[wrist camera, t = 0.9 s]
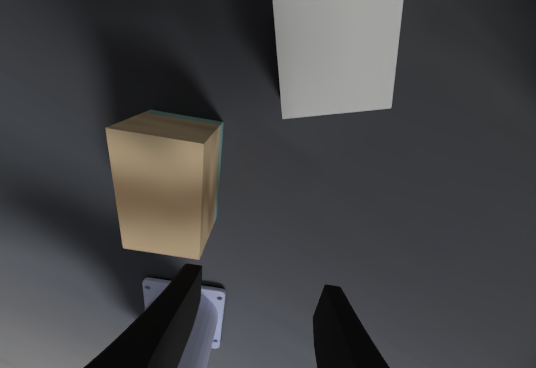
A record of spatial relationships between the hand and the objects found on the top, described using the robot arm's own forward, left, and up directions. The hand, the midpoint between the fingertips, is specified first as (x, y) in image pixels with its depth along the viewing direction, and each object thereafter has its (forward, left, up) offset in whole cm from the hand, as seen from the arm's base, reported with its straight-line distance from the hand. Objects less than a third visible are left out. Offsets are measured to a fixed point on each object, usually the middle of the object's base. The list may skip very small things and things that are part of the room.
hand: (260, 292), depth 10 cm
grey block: (+9, -2, -10) cm, 14 cm away
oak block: (0, +6, -10) cm, 12 cm away
